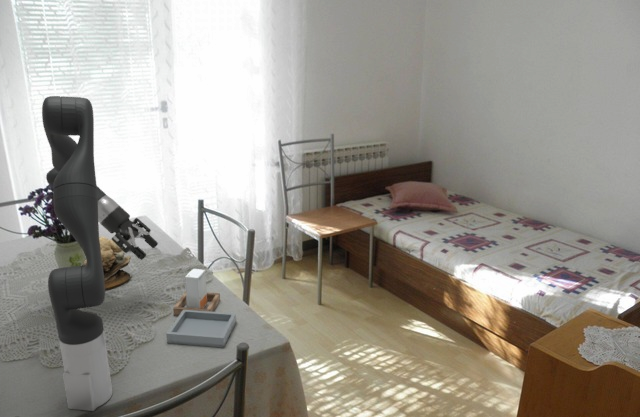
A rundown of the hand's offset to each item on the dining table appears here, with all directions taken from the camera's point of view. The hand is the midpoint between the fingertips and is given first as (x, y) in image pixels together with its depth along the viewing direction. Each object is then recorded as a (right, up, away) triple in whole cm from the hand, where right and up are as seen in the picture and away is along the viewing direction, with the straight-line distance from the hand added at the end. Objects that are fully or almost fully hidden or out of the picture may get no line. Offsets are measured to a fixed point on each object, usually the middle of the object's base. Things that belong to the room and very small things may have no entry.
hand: (150, 251), depth 157 cm
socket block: (+13, -18, +5) cm, 23 cm away
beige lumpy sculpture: (-21, -12, +20) cm, 31 cm away
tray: (+18, -22, -8) cm, 30 cm away
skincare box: (+13, -18, +5) cm, 23 cm away
